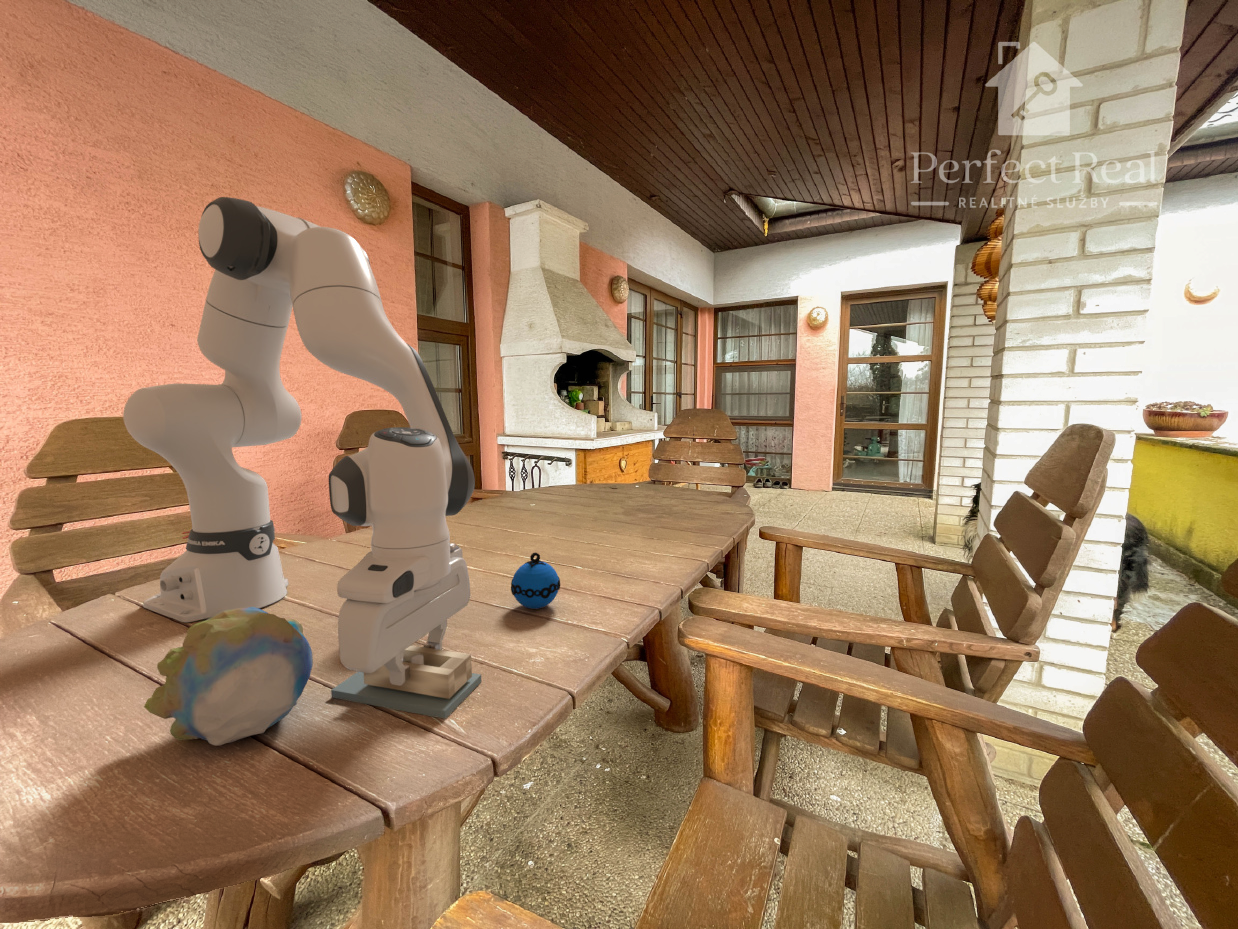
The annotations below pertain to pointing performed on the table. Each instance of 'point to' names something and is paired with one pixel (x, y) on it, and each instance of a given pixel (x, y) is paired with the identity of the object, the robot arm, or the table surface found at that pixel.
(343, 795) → the table surface
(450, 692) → the beige wooden rectangular frame
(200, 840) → the table surface
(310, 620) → the table surface
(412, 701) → the boss board
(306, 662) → the decorative rock
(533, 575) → the ornament
